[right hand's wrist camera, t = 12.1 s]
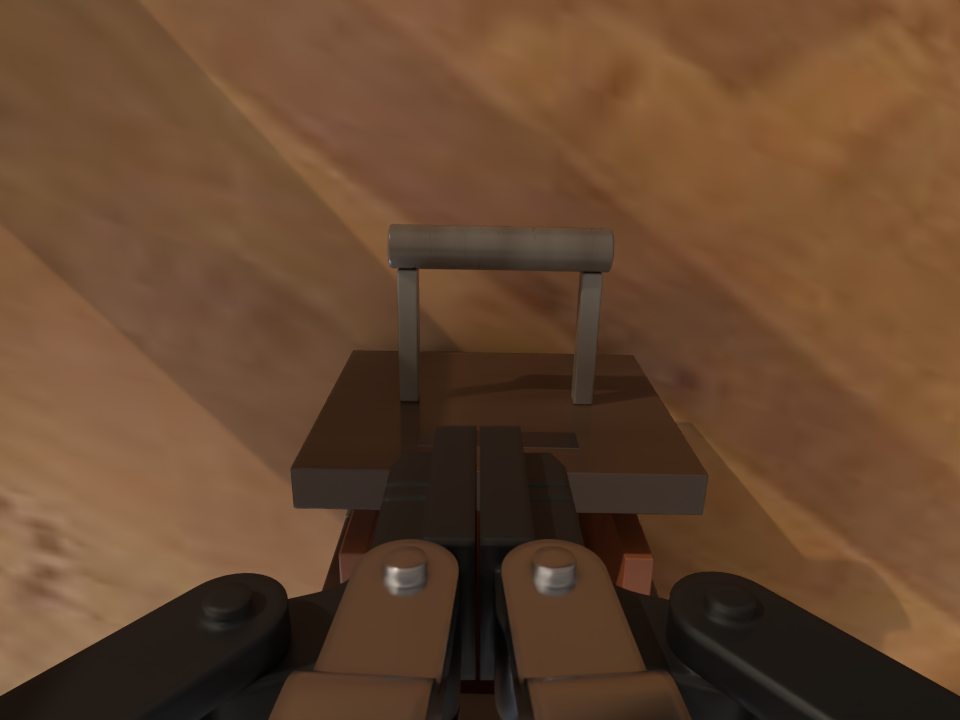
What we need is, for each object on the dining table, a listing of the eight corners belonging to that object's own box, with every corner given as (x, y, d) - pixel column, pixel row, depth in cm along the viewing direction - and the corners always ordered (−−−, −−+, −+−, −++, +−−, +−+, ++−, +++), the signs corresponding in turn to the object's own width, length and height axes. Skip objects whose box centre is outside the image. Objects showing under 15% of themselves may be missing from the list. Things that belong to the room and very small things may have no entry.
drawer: (345, 203, 24) (271, 254, 15) (648, 208, 24) (741, 263, 15) (368, 684, 31) (326, 899, 23) (600, 687, 31) (644, 903, 23)
